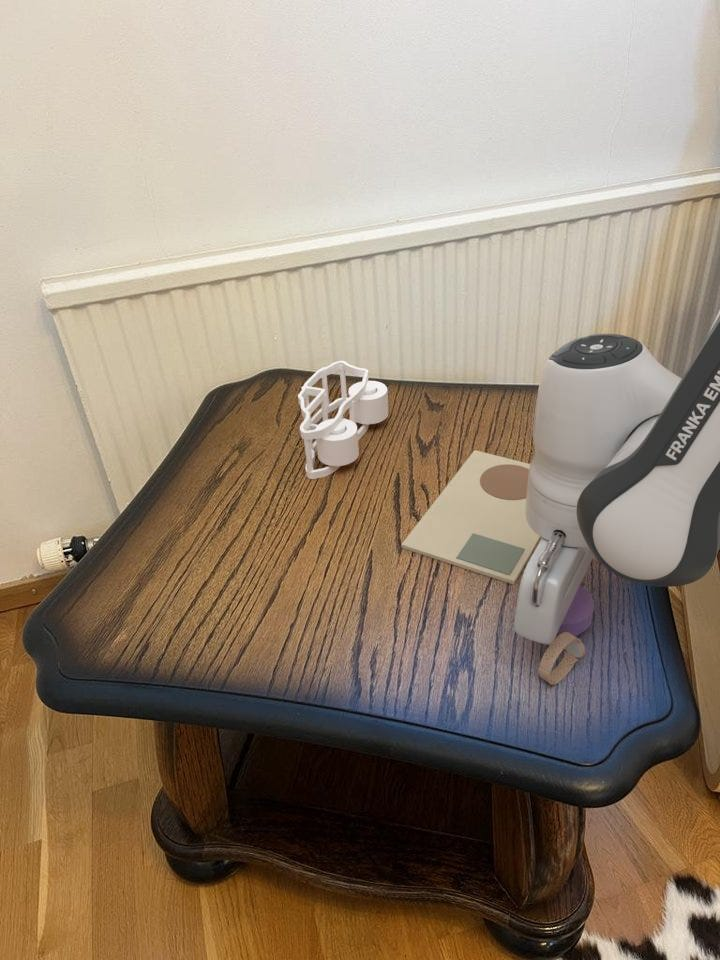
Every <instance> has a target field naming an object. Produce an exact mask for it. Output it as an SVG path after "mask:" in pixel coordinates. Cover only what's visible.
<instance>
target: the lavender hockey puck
mask: <svg viewBox="0 0 720 960" xmlns="http://www.w3.org/2000/svg"><path fill="white" fill-rule="evenodd" d="M594 610H595V601H594V598H593V596H592V595H591V593H590V592H589V591H588V590H587V589H586V588H585V587H584V586H582V585H581V586H579V588H578V590H577V592H576V594H575V596H574V599H573V601H572V603H571V605H570V607H569V609H568V611H567V613H566V615H565V617H564V620H563V622H562V624H561V626H560V628H559V632H558V634H557V636H556V638H557V637H558V636H559V635H560V634H562V633H564V632H569V633H570V634H572V635H574V636H575V637H577V638H578V636H579V635H581V634H582V633H583V632H585V631H586V630H587V629H588V628H589V627H590V626H591V623H592V621H593V615H594ZM556 638H555V639H556Z"/></svg>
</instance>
